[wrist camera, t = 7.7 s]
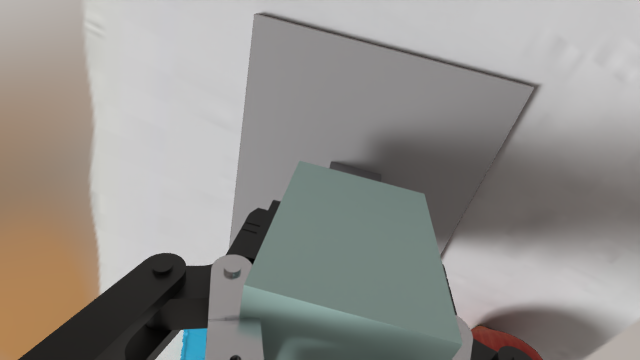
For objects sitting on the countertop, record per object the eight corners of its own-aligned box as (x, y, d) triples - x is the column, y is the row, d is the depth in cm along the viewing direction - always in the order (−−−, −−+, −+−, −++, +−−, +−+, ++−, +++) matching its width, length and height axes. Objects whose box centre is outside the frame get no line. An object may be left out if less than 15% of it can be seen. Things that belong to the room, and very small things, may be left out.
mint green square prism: (299, 160, 13) (243, 285, 8) (424, 193, 13) (463, 344, 8) (279, 253, 16) (227, 397, 10) (383, 281, 16) (389, 442, 10)
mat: (257, 13, 14) (254, 14, 14) (530, 85, 14) (534, 87, 14) (230, 251, 21) (228, 255, 21) (411, 300, 21) (412, 305, 21)
